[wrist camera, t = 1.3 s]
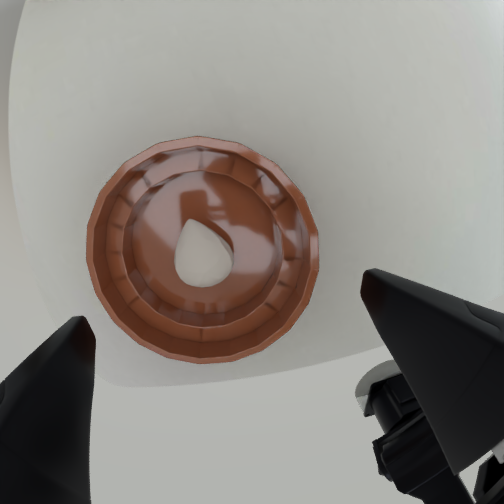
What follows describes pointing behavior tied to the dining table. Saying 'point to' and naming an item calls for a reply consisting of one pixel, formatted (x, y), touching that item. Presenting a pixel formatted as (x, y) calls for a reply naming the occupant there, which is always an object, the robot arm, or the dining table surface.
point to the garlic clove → (202, 255)
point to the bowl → (220, 221)
